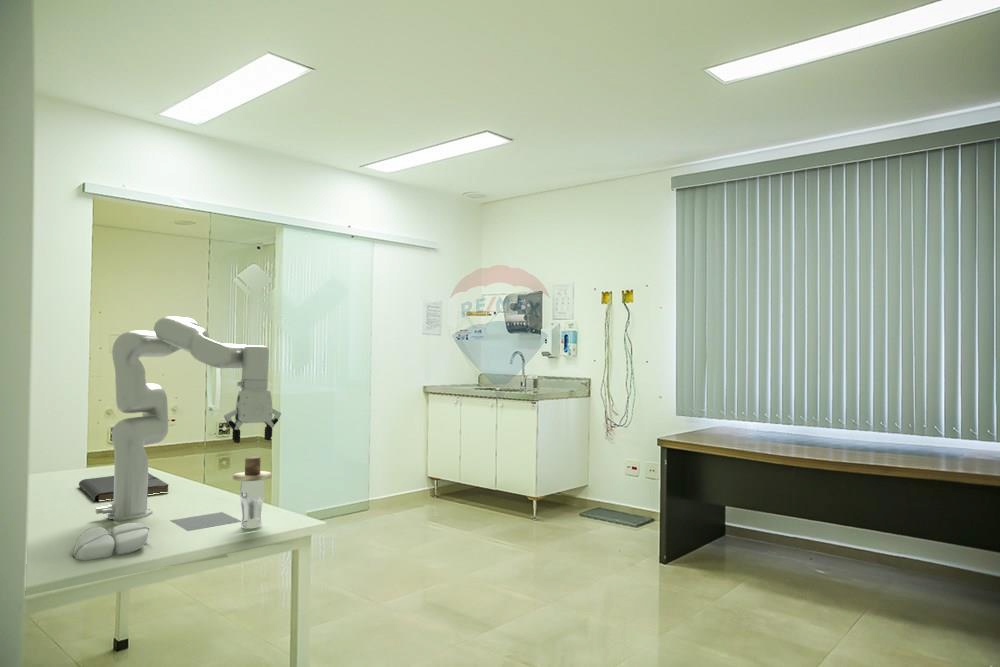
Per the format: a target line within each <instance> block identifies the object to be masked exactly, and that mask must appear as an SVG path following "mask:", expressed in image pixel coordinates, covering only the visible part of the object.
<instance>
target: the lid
mask: <svg viewBox="0 0 1000 667" xmlns="http://www.w3.org/2000/svg"><path fill="white" fill-rule="evenodd" d="M261 460H262V458H261V457H260V456H248V457H245V458H244V471H242V472H237V473H234V474H232V479H233V481H237V482H241V481H258V480H264V481H265V480H269V479H271V478H272V472H270V471H267V470H266V471H264V470H261Z"/></svg>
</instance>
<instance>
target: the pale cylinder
mask: <svg viewBox="0 0 1000 667" xmlns="http://www.w3.org/2000/svg"><path fill="white" fill-rule="evenodd" d="M264 498H265V480H258V481H240V487H239V499H240V506H241V515H242V518H241V521H242V522H240V523H241V524H240V528H241V529H256V528H257V529H258V528H261V527H262V526H263V522H262V521H263V520H262V510H263V509H262V508H263V504H264Z"/></svg>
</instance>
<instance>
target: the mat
mask: <svg viewBox="0 0 1000 667" xmlns="http://www.w3.org/2000/svg"><path fill="white" fill-rule="evenodd" d="M170 522H172V523H174V524H175V525H176V526H179V527H180V528H182V529H184V530H186V531H187V532H191V531H196V530H201V529H207V528H212V527H218V526H224V525H229V524H230V525H231V524H236V523H242V520H239V519H238V518H235V517H233V516H232V515H229V514H227V513H225V512H224V511H223V512H222V511H221V512H215V513H207V514H201V515H196V516H191V517H189V516H188V517H183V518H178V519H177V518H175V519H171V520H170Z"/></svg>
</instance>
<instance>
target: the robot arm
mask: <svg viewBox="0 0 1000 667" xmlns="http://www.w3.org/2000/svg"><path fill="white" fill-rule="evenodd" d="M179 350H183V351H186V352H188V353H189V354H190V355H191V356H192V358H194V359H195V360H197V361H198V362H201V363H203V364H206V365H208V366H211V367H212V368H216V369H241V379H240V381H237V382H236V386H237V387H240V389H238V394H237V397H236V403H235V409H234V410H232V411H230V412H227V413H225V414H224V416H223V417H224V419H225V421H226V424H227V425H228V426H229V427H230V429H231V430H232V441H233V443H235V444H240V443H241V430H240V427H241V426H242V425H243V424H258V423H259V424H260V423H263V424H264V425H265V427H264V438H263V439H264V440H266V441H268V442H270V441H272V437H273V429H274V427H275V425H276V424H277V423H278V421H279V419H280V417H281V415H282V413H281V412H280V411H278V410H276V409H274V408H273V400H272V399H273V398H272V392H271V390H270V389H268V386H269V385H268V384H269V382H268V380H269V363H270V362H269V359H270V358H269V357H270V349H269V347H267V346H266V345H255V344H254V345H253V344H251V345H250V344H248V345H247V344H241V343H239V344H238V343H220V342H217V341H215V340H213V339H210V334H209V332H208V331H207V329H205V328H203V327H200V325H199V324H198V322H197V321H196V320H195V319H193V318H190V317H183V316H171V315H170V316H169V315H168V316H163V317H161V318H159V319H158V320H157V321H156V322H155V324H154V326H153V331H152V330H130V331H126V332H123V333H121V334H120V335H118V336H117V337H116V339H115V341H114V342H113V345H112V351H111V354H112V355H111V356H112V362H113V366H114V372H115V402H116V407H117V409H118V411H119V412H121V413H123V414H140V413H142V416H134V417H128V418H124V419H121V420H119V421H118V422H117V423H115V425H114V426H113V427H112V430H111V439H112V440H111V441H112V445H113V449H114V450H113V452H114V453H113V454H114V466H113V467H114V474H113V476H114V500H113V502H110V504H108V505H107V506H100V507H99V506H98V507H96V508H95V513H96V514H95V515H99V514H103V515H104V514H105V515H106V514H107V515H106V516H107V517H108V518H109V519H108V518H107V519H108V520H110V519H113V520H112V521H125V520H126V521H128V520H127V519H129V520H136V519H141V518H146V517H148V516H151V515H152V514H153V509H151V508H149V507H148V496H147V495H148V473H149V456H148V453H147V451H146V450H145V448H144V446H148V445H149V446H150V445H153V444H158V443H159V444H160V443H161V442H163V441H164V440H165V438H167V434H168V432H169V412H168V410H169V409H168V397H167V393H166V391H165V389H164V388H163V387H162V386H161V385H159V384H158V383H151V382H148V383H147V381H146V370H145V367H144V365H143V363H142V361H141V360H140V358H142V357H146V358H147V357H148V358H151V357H152V358H153V357H154V358H158V357H159V358H160V357H161V358H162V357H166V356H170V355H171V354H174V353H176V352H178V351H179ZM232 417H234V419H235V421H233V420H232Z"/></svg>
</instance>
